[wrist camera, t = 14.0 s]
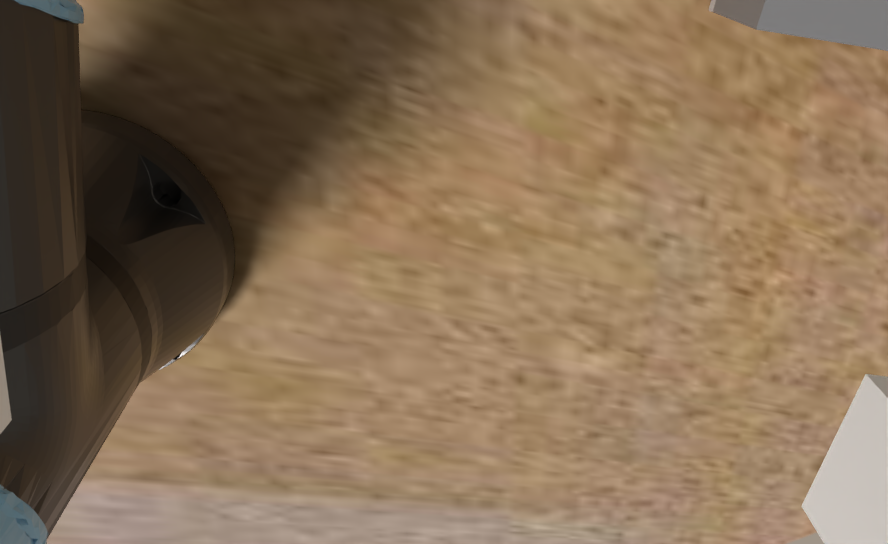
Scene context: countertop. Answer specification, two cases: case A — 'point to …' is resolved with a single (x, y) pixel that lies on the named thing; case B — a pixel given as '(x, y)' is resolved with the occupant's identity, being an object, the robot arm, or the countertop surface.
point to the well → (814, 19)
